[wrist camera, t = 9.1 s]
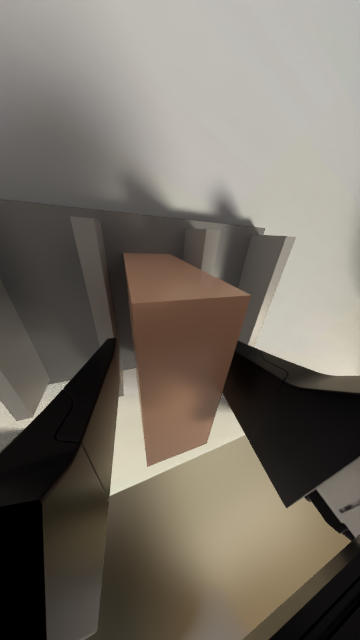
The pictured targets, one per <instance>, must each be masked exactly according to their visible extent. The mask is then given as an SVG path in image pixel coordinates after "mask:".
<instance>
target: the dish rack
mask: <svg viewBox="0 0 360 640" xmlns="http://www.w3.org/2000/svg"><path fill="white" fill-rule="evenodd" d="M264 231H265V228H258V227H249V226H240V225H230V224H221V223H212V222H203V221H193V220H184V219H175V218H166V217H157V216H147V215H138V214H129V213H120V212H111V211H101V210H92V209H83V208H74V207H64V206H55V205H46V204H37V203H28V202H18V201H9V200H0V401H1V402H2V403H3V404H4V406H5V407H6V408H7V409H8V411H9V412H10V413H11V414H12V416H13V417H14V418H15V419H16V421H18V420H23V419H27V418H31V417H33V416H34V413H35V411H36V409H37V407H38V405H39V402H40V400H41V398H42V396H43V394H44V392H45V389H46V387H47V385H48V384H53V383H58V382H63V381H69V380H71V379H72V378H73V377H74V376H75V375H76V374H77V372H78V371H79V370H80V369H81V368H82V367H83V366H84V365H85V363H86V362H87V361H88V360H89V359H90V358H91V357H92V355H93V354H94V353H95V352H96V351H97V350H98V349H99V348H100V346H101V345H102V344H103V343H104V342H105V341H106V340H107V339H108V338H116V339H117V344H118V350H119V368H120V386H119V397H120V396H124V394H123V370H127V369H132V368H136V367H135V359H134V350H133V341H132V331H131V322H130V312H129V303H128V294H127V284H126V275H125V265H124V256H123V253H151V254H171V255H173V256H175V257H177V258H179V259H181V260H183V261H185V262H187V263H189V264H191V265H193V266H194V267H196V268H198V269H200V270H202V271H204V272H206V273H208V274H210V275H212V276H214V277H216V278H218V279H220V280H222V281H224V282H226V283H228V284H230V285H232V286H234V287H236V288H238V289H240V290H242V291H244V292H246V293H248V294H250V295H251V298H250V302H249V305H248V308H247V312H246V315H245V318H244V322H243V325H242V328H241V331H240V335H239V338H238V341H240V342H243V343H245V344H247V345H250V346H252V347H254V346H255V343H256V341H257V338H258V335H259V333H260V330H261V328H262V325H263V322H264V320H265V317H266V314H267V312H268V309H269V307H270V304H271V301H272V299H273V296H274V293H275V291H276V288H277V286H278V283H279V280H280V278H281V275H282V272H283V270H284V267H285V265H286V262H287V259H288V257H289V254H290V251H291V249H292V246H293V244H294V241H295V238H296V237H288V236H269V235H263V234H264Z"/></svg>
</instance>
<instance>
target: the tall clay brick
mask: <svg viewBox="0 0 360 640" xmlns="http://www.w3.org/2000/svg"><path fill="white" fill-rule="evenodd" d="M123 256H124V265H125V275H126V284H127V294H128V303H129V312H130V322H131V331H132V341H133V350H134V359H135V367H136V375H137V384H138V392H139V401H140V409H141V417H142V426H143V434H144V443H145V451H146V459H147V467H148V466H150V465H153V464H156V463H158V462H161V461H163V460H166V459H168V458H171V457H173V456H176V455H179V454H181V453H184V452H186V451H189V450H191V449H194V448H196V447H199V446H202V445H204V444H207V440H208V437H209V434H210V431H211V427H212V424H213V421H214V417H215V414H216V411H217V407H218V404H219V401H220V398H221V394H222V391H223V388H224V384H225V381H226V378H227V374H228V371H229V368H230V365H231V361H232V358H233V355H234V351H235V348H236V345H237V341H238V338H239V335H240V331H241V328H242V325H243V322H244V318H245V315H246V312H247V308H248V305H249V302H250V298H251V295H250V294H248V293H246V292H244V291H242V290H240V289H238V288H236V287H234V286H232V285H230V284H228V283H226V282H224V281H222V280H220V279H218V278H216V277H214V276H212V275H210V274H208V273H206V272H204V271H202V270H200V269H198V268H196V267H194V266H193V265H191V264H189V263H187V262H185V261H183V260H181V259H179V258H177V257H175V256H173V255H171V254H151V253H123Z"/></svg>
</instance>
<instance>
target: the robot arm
mask: <svg viewBox="0 0 360 640" xmlns="http://www.w3.org/2000/svg"><path fill="white" fill-rule="evenodd" d="M119 386H120V368H119V350H118V344H117V339H116V338H108V339H107V340H106V341H105V342H104V343H103V344H102V345H101V346H100V348H99V349H98V350H97V351H96V352H95V353H94V354H93V355H92V357H91V358H90V359H89V360H88V361H87V362H86V363H85V365H84V366H83V367H82V368H81V369H80V370H79V371H78V372H77V374H76V375H75V376H74V377H73V378H72V379H71V380H70V381H69V383H68V384H67V385H66V386H65V387H64V390H61V391H60V393H59V394H58V395H57V396H56V397H55V398H54V399H53V400H52V401H51V403H50V404H49V405H48V406H47V407H46V408H45V409H44V410H43V411H42V412H41V413H40V414H39V415H38V416H37V417H36V418H35V419H34V420H33V421H32V422H31V423H30V424H29V425H28V426H27V427H26V428H25V429H24V430H23V431H22V432H21V433H20V434H19V435H18V436H17V437H16V438H15V439H14V440H13V441H12V442H10V443H9V444H8V445H7V446H6V447H5V448H4V449H3V450H2V451H1V452H0V640H85V639H86V638H87V637H89V636H91V635H92V634H94V633H95V632H96V631H97V625H98V614H99V604H100V593H101V582H102V570H103V560H104V549H105V539H106V538H105V537H106V528H107V517H108V505H109V495H110V484H111V473H112V462H113V451H114V440H115V429H116V418H117V408H118V397H119ZM222 393H223V395H224V397H225V398H226V400H227V402H228V404H229V406H230V407H231V409H232V411H233V413H234V415H235V417H236V418H237V420H238V422H239V424H240V426H241V427H242V429H243V431H244V433H245V435H246V436H247V438H248V440H250V441H249V442H250V444H251V445H252V448H253V449H254V451H255V453H256V455H257V457H258V458H259V460H260V462H261V464H262V466H263V467H264V469H265V471H266V473H267V475H268V477H269V478H270V480H271V482H272V484H273V485H274V487H275V489H276V491H277V493H278V494H279V496H280V498H281V500H282V502H283V503H284V505H285V507H286V508H288V507H289V506H291V505H293V504H294V503H296V502H297V501H299V500H300V499H302V498H303V497H305V499H307V501H309V502H312V503H313V504H314V505H315V507H316V508H317V509H318V511H319V512H320V514H321V515H322V517H323V518H324V520H325V521H326V522H327V523H328V524H329V525H330V526H331V527H333V528H334V529H335V530H336V531H337V532H339V533H342V534H343V535H345V536H346V537H347V538H348V539H350V540H351V541H352V542H350V543H349V544H348V545H347V546H346V547H345V548H344V549H343V550H342V551H340V552H339V553H338V554H337V555H336V556H335V557H334V558H333V559H332V560H331V561H329V562H328V563H327V564H326V565H325V566H324V567H323V568H322V569H321V570H319V571H318V572H317V573H316V574H315V575H314V576H313V577H312V578H310V579H309V580H308V581H307V582H306V583H305V584H304V585H303V586H302V587H301V588H299V589H298V590H297V591H296V592H295V593H294V594H293V595H292V596H290V597H289V598H288V599H287V600H286V601H285V602H284V603H283V604H282V605H280V606H279V607H278V608H277V609H276V610H275V611H274V612H273V613H271V614H270V615H269V616H268V617H267V618H266V619H265V620H264V621H263V622H261V623H260V624H259V625H258V626H257V627H256V628H255V629H254V630H253V631H251V632H250V633H249V634H248V635H247V636H246V637H245V638H244V639H243V640H360V376H331V375H326V374H322V373H318V372H315V371H313V370H310V369H307V368H305V367H302V366H299V365H296V364H294V363H291V362H288V361H286V360H283V359H281V358H278V357H275V356H273V355H271V354H268V353H266V352H264V351H261V350H258V349H257V348H254V347H252V346H250V345H247V344H245V343H243V342H240V341H237V345H236V348H235V351H234V355H233V358H232V361H231V365H230V368H229V371H228V374H227V378H226V381H225V384H224V388H223V391H222Z"/></svg>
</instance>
